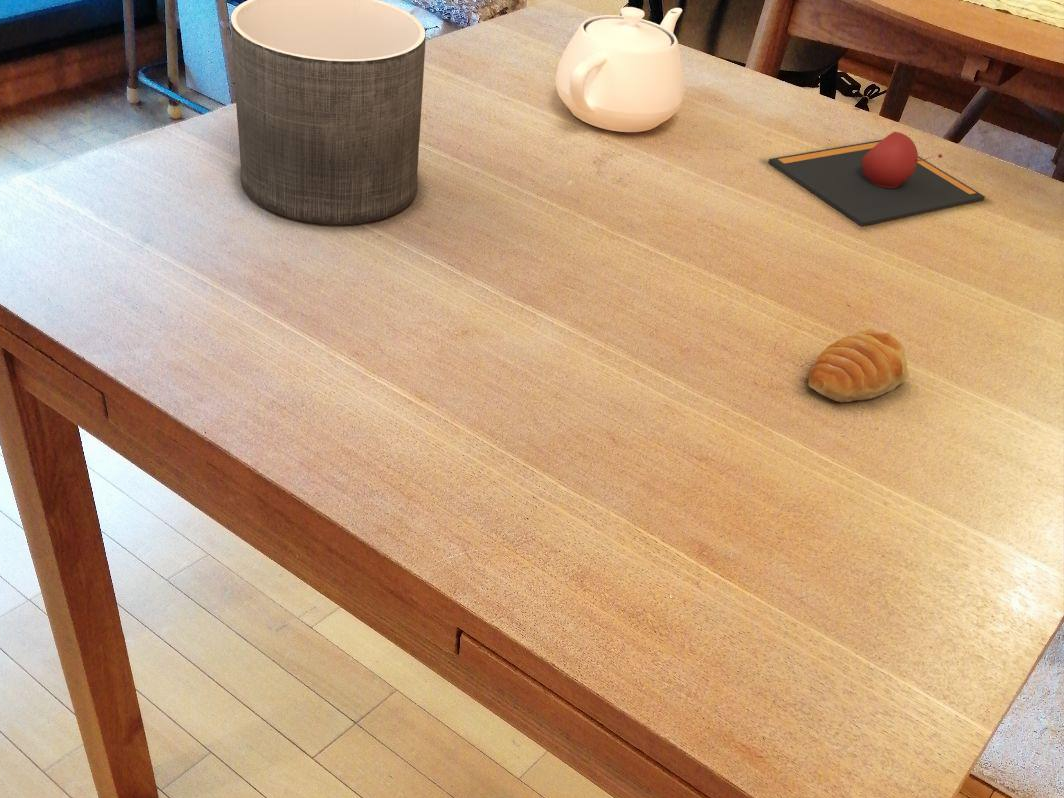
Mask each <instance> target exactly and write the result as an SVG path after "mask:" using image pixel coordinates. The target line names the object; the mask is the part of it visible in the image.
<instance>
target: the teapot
mask: <svg viewBox="0 0 1064 798" xmlns="http://www.w3.org/2000/svg"><path fill="white" fill-rule="evenodd" d="M682 13H683V9H682V8H681V7H673V8H671V9H670V10H668V11H667V12H666V14H665V15H664V17H663V19H662V21H661V22H660V24H658V23H656V22H652V21H650V20H647V19H643V18H644V17H645V16H646V14H645V11H644V10H643V9H641V8H637V7H633V6H625V7H622V8H621V9H620V14H621V15H619V14H603V15H596V16H591V17H589V18H586V19H585V20H584V21H582V22H581V24H580V25H579V26H578V28H577V29H576V31H575V32H574V33H573V36H572V37H571V38H570V41H569V42H568V44H567V46H566V48H565V49H564V51H563V53H562V55H561V57H560V60H559V62H558V65H557V68H556V72H555V78H554V79H555V80H554V81H555V83H554V85H555V88H556V91H557V94H558V97H559V98H560V99H561V101H562V102H563V103H564V105H565V107H567V108H568V110H569V111H570V112H571V114H572V115H573V116H575V117H576V118H577V119H579V120H580V121H581V122H584V123H586V124H588V125H591V126H594V127H596V128H599V129H603V130H607V131H613V132H619V133H639V132H646V131H650V130H652V129H655V128H656V127H658V126H659V125H661V124H662V123H664V122H666V121H668V120H669V119H670V118H671V117H673V116H674V115H675V114H676V113H677V112H678V111H679V109H680V108H681V105H682V104H683V102H684V98H685V92H686V91H685V88H686V84H685V83H686V81H685V70H684V63H683V58H682V53H681V50H680V49H681V48H680V45H679V41H678V39H677V38H678V37H676V35H675V33H674V31H675V27H676V23H677V21H678V20H679V18H680V16H681V14H682Z"/></svg>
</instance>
